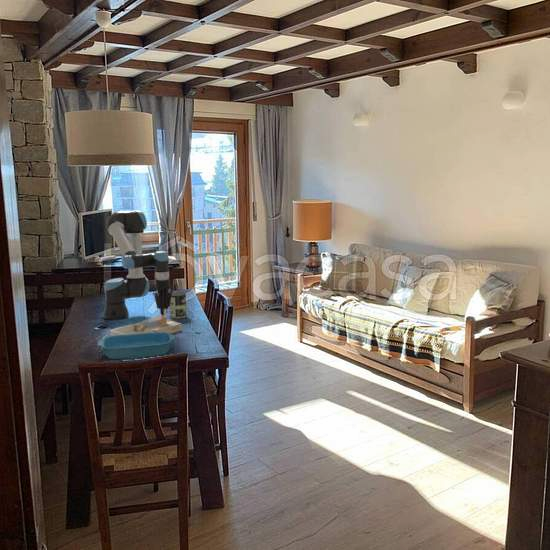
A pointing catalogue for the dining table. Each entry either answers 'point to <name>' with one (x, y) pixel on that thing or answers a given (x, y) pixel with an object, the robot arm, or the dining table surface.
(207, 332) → the dining table surface
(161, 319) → the tile rear
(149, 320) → the tile front
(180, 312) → the coffee can
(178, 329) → the wavy grain square board
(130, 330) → the tray
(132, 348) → the casserole dish
